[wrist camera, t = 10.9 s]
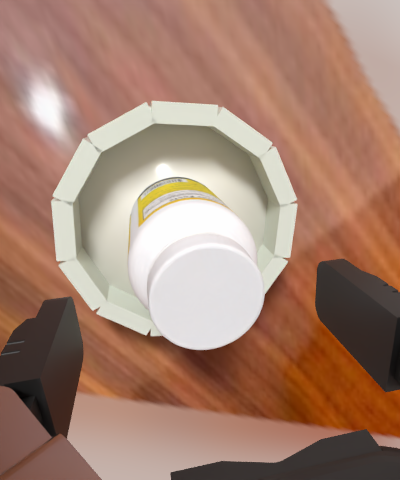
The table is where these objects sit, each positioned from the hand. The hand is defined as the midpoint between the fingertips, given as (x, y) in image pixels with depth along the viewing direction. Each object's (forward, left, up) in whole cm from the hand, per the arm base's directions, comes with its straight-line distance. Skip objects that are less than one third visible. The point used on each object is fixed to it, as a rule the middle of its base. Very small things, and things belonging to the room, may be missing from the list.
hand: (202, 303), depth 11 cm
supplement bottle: (0, 0, -10) cm, 10 cm away
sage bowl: (0, 0, -11) cm, 11 cm away
